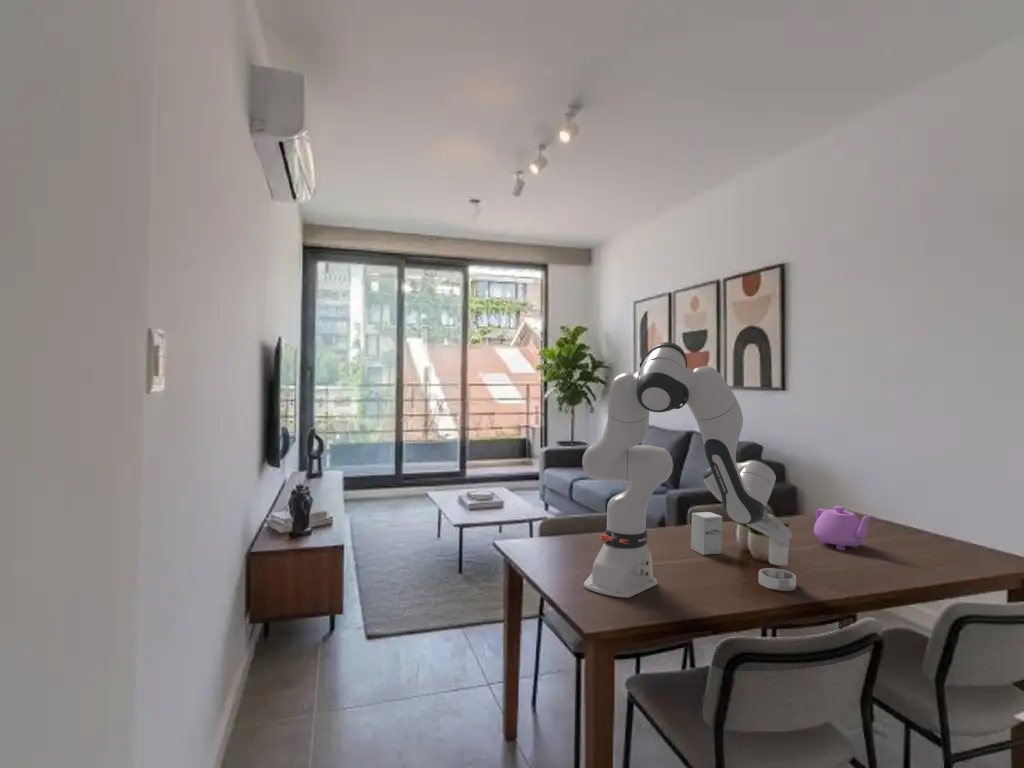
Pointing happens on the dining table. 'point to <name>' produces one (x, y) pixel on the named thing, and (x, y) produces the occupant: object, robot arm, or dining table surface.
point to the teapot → (840, 527)
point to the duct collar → (777, 579)
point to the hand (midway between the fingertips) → (780, 541)
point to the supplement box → (706, 533)
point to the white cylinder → (777, 553)
